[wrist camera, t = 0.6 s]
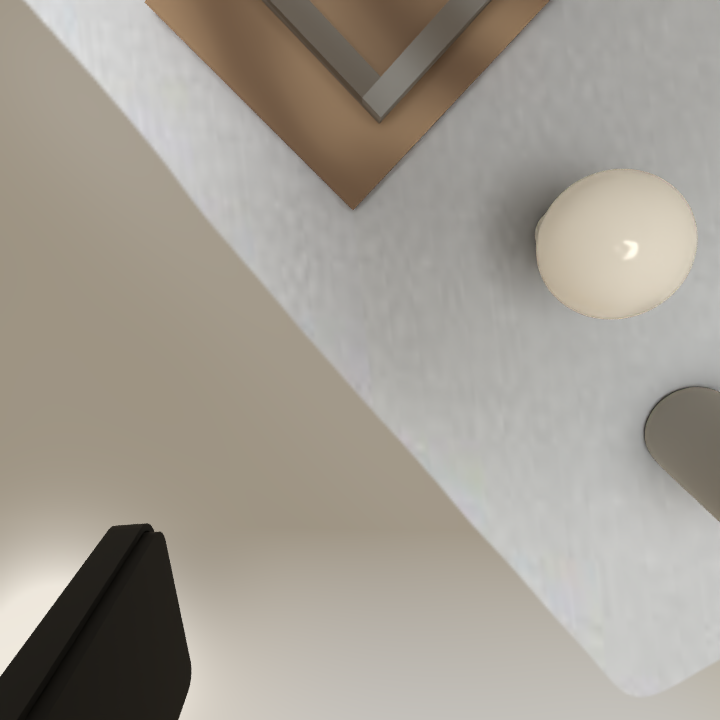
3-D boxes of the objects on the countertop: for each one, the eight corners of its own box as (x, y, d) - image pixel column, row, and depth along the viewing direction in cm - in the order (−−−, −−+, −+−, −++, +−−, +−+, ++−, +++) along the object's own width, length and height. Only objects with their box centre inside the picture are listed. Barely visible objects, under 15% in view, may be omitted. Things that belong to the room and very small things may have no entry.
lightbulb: (489, 282, 34) (548, 326, 23) (509, 166, 32) (582, 157, 21) (598, 293, 34) (705, 342, 23) (624, 179, 32) (753, 176, 21)
